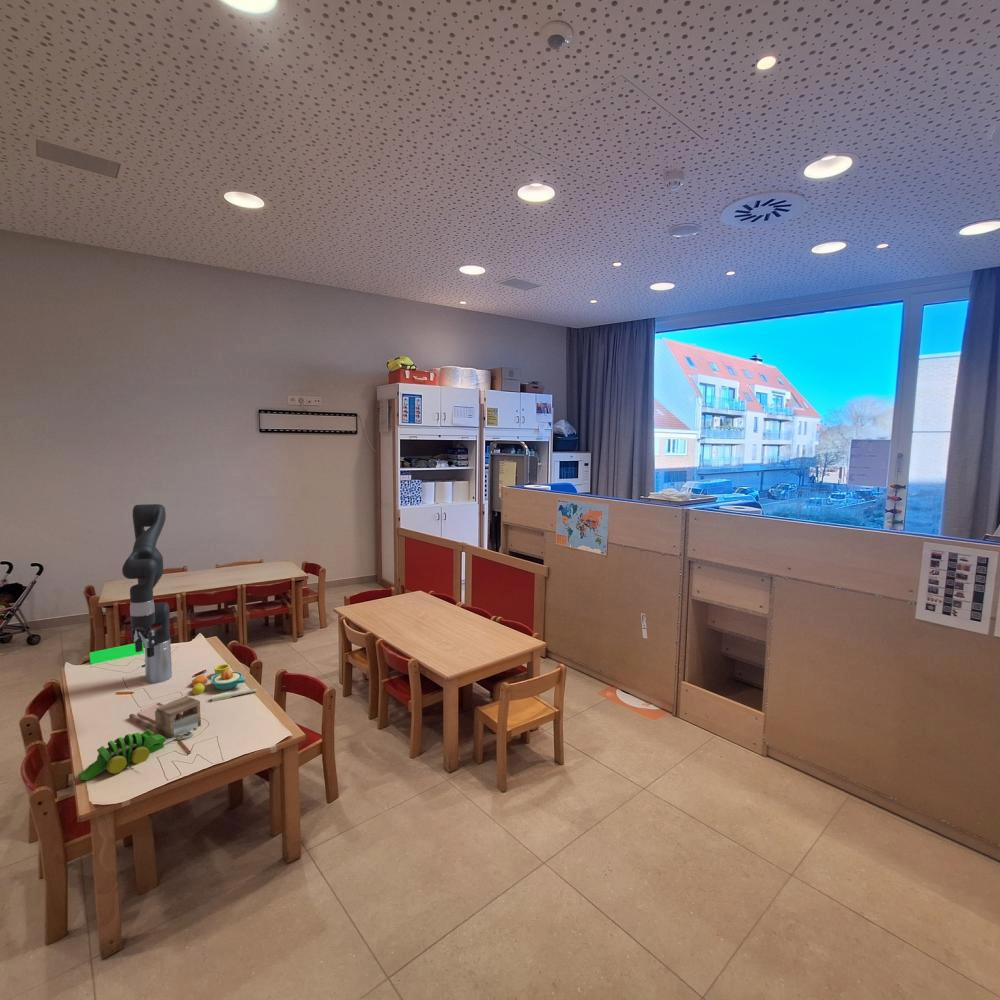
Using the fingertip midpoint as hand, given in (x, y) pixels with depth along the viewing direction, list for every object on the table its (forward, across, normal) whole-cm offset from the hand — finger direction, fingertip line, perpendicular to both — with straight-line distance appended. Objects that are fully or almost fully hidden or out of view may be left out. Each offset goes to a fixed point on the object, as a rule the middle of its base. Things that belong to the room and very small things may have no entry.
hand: (144, 654), depth 196 cm
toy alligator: (+23, +29, -16) cm, 40 cm away
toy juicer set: (+23, +6, +24) cm, 34 cm away
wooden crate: (+22, +22, -1) cm, 32 cm away
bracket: (+24, -60, +16) cm, 67 cm away
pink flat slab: (+23, +9, -1) cm, 25 cm away
